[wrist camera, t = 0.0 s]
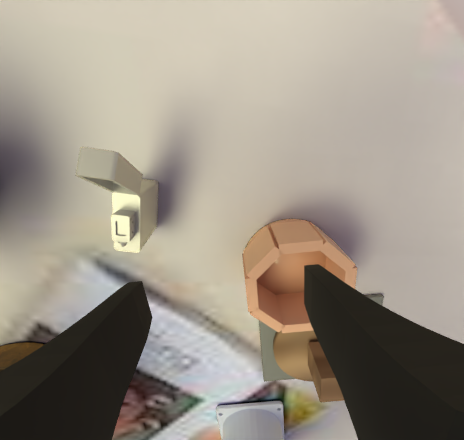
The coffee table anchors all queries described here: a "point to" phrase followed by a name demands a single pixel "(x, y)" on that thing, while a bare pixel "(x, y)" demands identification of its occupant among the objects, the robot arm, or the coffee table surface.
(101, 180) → the lighter
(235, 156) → the coffee table surface
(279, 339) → the lid
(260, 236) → the bowl
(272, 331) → the mat
